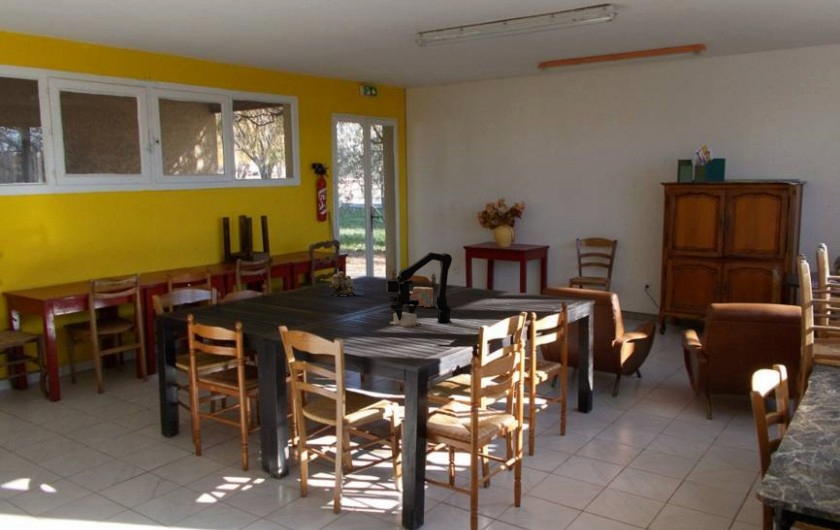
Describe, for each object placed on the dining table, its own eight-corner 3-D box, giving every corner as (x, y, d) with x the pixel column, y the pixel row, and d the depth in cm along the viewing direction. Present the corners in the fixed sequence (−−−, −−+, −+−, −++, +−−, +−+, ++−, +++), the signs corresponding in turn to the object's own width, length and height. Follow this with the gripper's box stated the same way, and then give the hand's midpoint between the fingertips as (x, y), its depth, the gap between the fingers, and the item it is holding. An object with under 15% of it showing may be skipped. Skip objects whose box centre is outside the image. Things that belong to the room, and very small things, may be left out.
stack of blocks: (398, 306, 458) (398, 287, 457) (401, 304, 464) (401, 286, 463) (431, 307, 452) (430, 288, 451) (433, 306, 458) (433, 287, 457)
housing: (416, 323, 400) (416, 314, 400) (409, 324, 396) (409, 316, 395) (400, 320, 408) (400, 311, 407) (393, 322, 403) (393, 313, 403)
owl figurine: (330, 297, 493) (329, 273, 491) (328, 294, 505) (327, 271, 503) (356, 296, 498) (355, 271, 496) (353, 293, 509) (352, 269, 507)
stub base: (420, 324, 401) (420, 317, 400) (409, 327, 393) (409, 320, 393) (400, 321, 410) (400, 314, 410) (389, 324, 403) (389, 317, 402)
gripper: (404, 288, 412) (405, 314, 414) (382, 292, 398) (383, 320, 399) (419, 290, 405) (419, 317, 407) (397, 294, 390) (398, 322, 392)
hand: (405, 319), depth 401 cm, fingers open, 9 cm apart
